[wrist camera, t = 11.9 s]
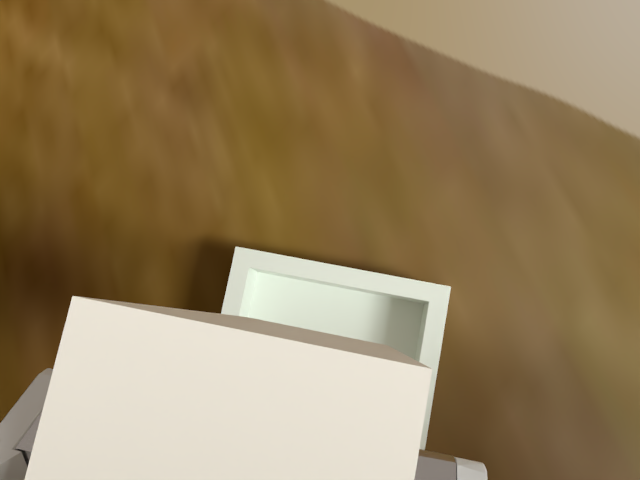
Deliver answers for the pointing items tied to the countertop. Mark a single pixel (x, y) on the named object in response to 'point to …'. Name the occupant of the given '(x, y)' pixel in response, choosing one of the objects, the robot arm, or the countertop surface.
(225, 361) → the cream block
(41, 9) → the countertop surface
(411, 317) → the tray
